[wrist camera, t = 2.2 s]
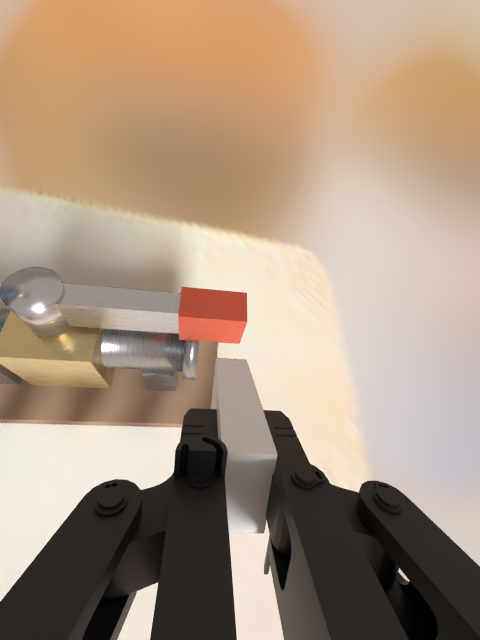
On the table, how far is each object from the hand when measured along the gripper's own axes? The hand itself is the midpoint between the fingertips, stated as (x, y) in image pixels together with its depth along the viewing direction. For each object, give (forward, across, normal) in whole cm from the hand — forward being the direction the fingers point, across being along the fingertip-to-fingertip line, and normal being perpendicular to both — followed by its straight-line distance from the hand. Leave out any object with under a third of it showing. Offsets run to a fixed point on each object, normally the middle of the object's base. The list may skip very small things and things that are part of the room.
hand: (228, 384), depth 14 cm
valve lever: (+11, -7, 0) cm, 13 cm away
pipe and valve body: (+19, -13, -8) cm, 24 cm away
